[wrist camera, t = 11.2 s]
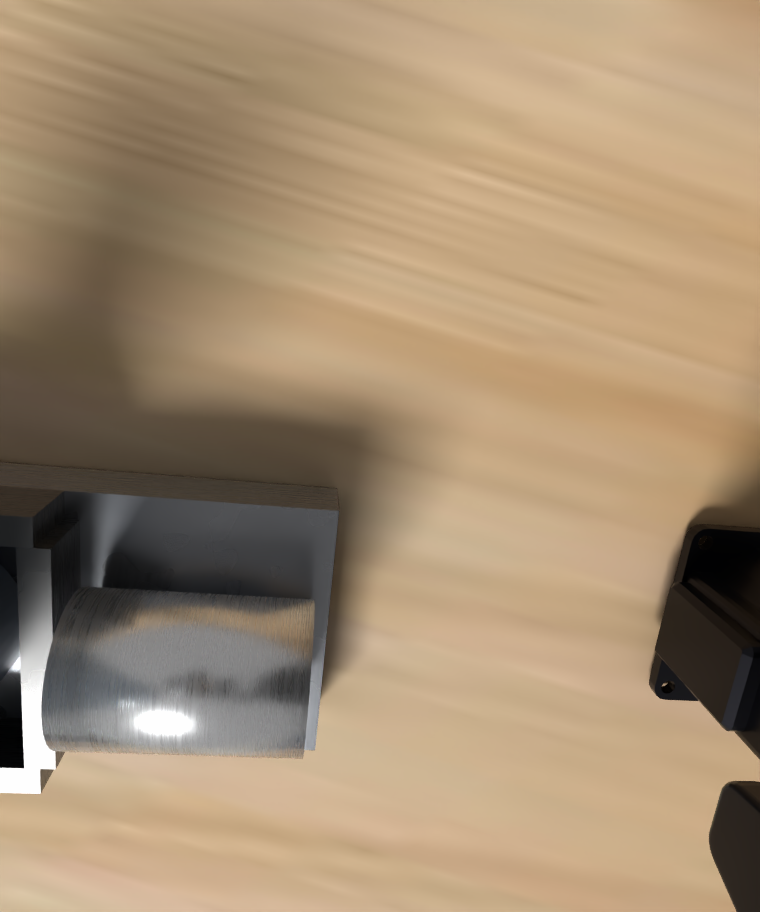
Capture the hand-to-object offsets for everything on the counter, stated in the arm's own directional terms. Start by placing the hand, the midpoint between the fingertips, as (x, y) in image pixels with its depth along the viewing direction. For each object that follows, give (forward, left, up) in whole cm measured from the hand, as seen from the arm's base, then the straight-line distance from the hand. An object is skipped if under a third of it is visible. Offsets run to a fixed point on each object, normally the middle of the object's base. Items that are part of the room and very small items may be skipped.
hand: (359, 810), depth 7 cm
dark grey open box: (+7, +4, -13) cm, 16 cm away
